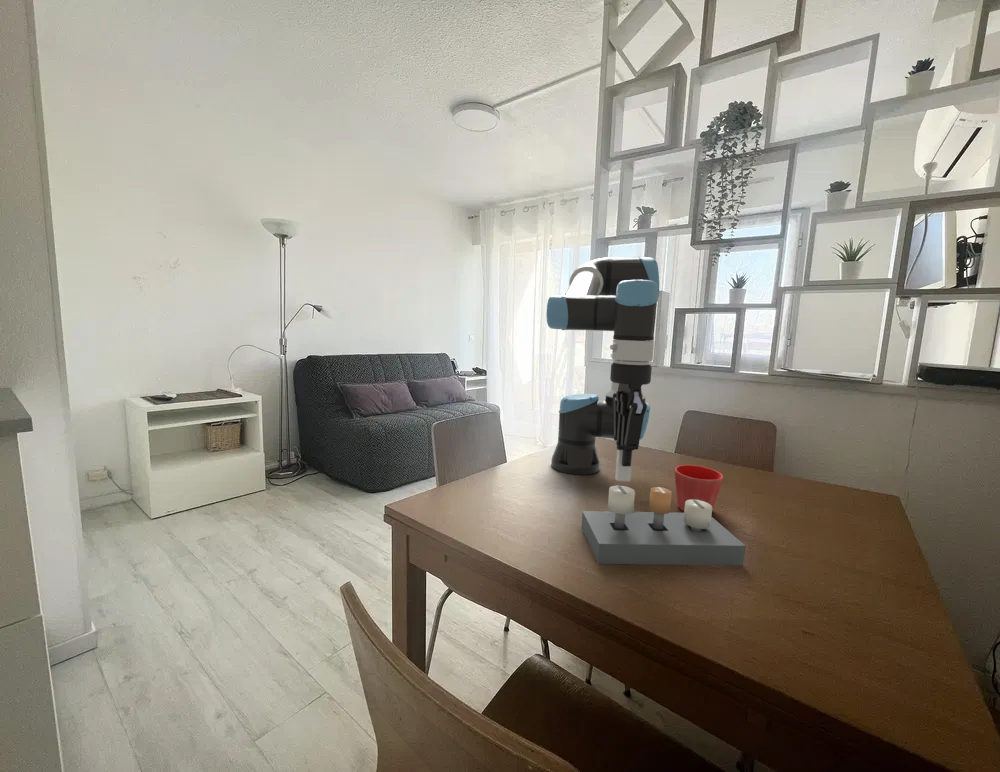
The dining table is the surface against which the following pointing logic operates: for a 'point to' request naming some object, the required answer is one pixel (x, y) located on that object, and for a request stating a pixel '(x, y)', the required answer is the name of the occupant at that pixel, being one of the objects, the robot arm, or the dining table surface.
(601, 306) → the robot arm
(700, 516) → the knob
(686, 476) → the flower pot
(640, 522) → the control box
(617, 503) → the knob
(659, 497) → the pot knob
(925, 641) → the dining table surface
